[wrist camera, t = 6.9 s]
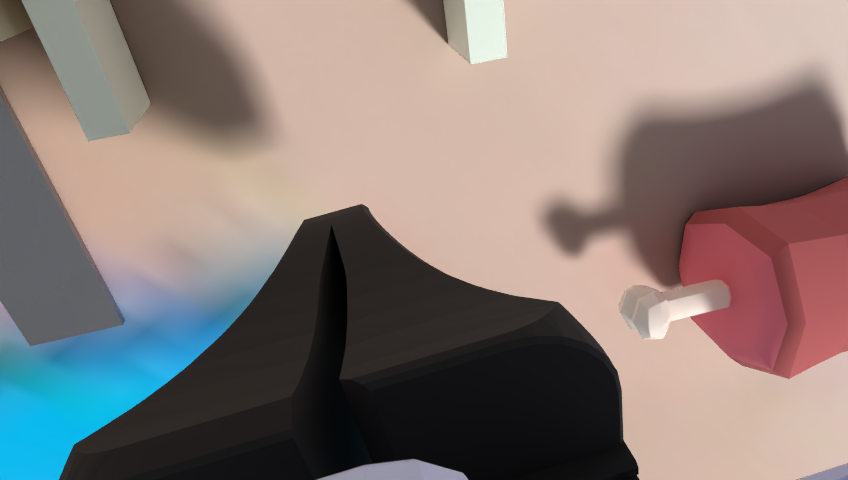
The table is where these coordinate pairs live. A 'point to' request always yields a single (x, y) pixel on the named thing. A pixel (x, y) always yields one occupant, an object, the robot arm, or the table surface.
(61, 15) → the sage cradle
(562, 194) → the table surface
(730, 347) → the meat
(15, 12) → the maple slab
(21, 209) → the slab rail
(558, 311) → the robot arm
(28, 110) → the table surface
